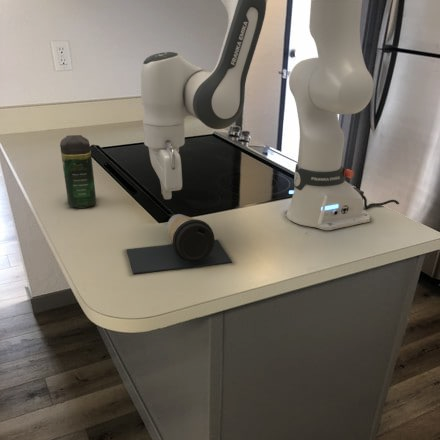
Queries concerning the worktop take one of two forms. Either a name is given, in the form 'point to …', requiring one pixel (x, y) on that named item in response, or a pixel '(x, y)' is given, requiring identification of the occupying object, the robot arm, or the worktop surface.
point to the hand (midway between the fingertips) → (166, 197)
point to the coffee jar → (78, 171)
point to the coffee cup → (190, 237)
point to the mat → (171, 259)
